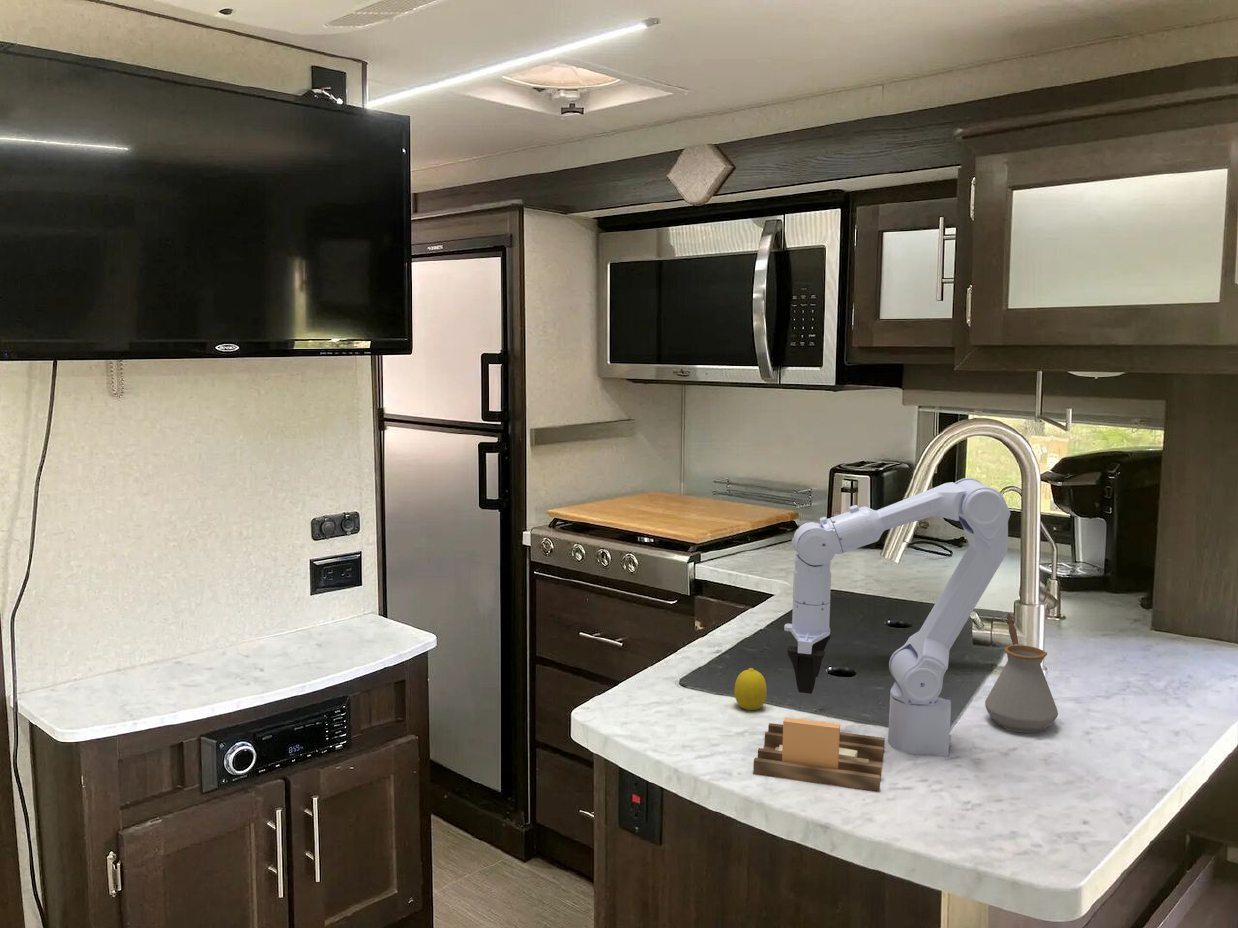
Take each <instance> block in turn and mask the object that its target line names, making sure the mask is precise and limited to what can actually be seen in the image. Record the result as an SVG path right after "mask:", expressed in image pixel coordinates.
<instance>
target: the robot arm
mask: <svg viewBox="0 0 1238 928" xmlns="http://www.w3.org/2000/svg"><path fill="white" fill-rule="evenodd" d="M848 509H849V511H845V512H843V513H841V514H838V515H834V516H832V517H830V518H827V517H826V516H822V517H820V518H819V522H820V523H818V522H814V521H813V522H811V521H809V522H806V523H803V524H802V525H800V526H798V529H796V530H795V531H794V535H793V537H792V539H791V544H792V547H793V549H794V551H795V552H796V554H795V559H794V570H793V588H792V589H793V590H792V614H791V615H792V616H791V617H792V620H791V623H785V624H784V628H783V629H784V631H785V632H790V633H791V635H792V636H793V637H794V639H795V640H796V641H797V646H796V645H795V646H794V645H788V647H787V650H786V651H787V656H788V658H789V660H790V661H791V665H792V667H793V671H794V677H795V681H796V687H797V692H798V693H802V694H810V695H812V694H813V691H814V688H815V685H816V680H817V678H818V676H819V673H820V671H821V666H822V660H823V659H824V656H825V655H826V651H825V649H826V646H827V645H828V643H829V641H830V640H831V637H832V631H831V628H830V614H831V586H832V584H831V583H832V582H831V581H832V573H831V561H832V560H833V558H834V557H835V556H836V554H837V555H841V554H845V553H847V552H849V551H853V550H855V549H856V550H857V549H859V548H861V547H862V548H863V547H865V546H867V545H871V544H873V543H876V542H879V540H880V538H881V536H882V534H883V533H884V532H885V531H886V530H887V531H888V530H891V529H894V528H898V527H900V526H904V525H908V524H911V523H914V522H917V521H921V520H924V519H928V518H932V517H940V518H944V519H947V520H952V521H955V522H960V524H961V525H962V528H963V531H964V534H965V536H966V539H967V542H968V547H967V549H966V550H965V552H964V554H963V556H962V558H960V560H959V562H958V564H957V566H956V567H955V569H954V570H953V573H952V574H951V576H950V578H949V579H948V581H947V583H946V584H945V586H944V588H943V589H942V592H941V593H940V595H939V597H938V598H937V600H936V601H935V603H934V605H933V607H932V609H931V611H930V612H929V613H928V616H927V617H926V619H925V620H924V622H923V624H922V625H921V628H919V630H918V631H917V632H915V633H914V634H913V633H912V634H911V636H909V637H908V639H907V641H906V642H905V643H904V644H903V645H902V646H901V647H899V648H898V649H896V650H895V651H894V652H893V653H892V654H891V656H890V659H889V662H888V668H889V672H890V674H891V676H892V677H893V679H895V680H894V682H893V685H892V686H891V689H890V694H889V695H890V696H889V712H888V713H889V715H888V717H889V718H888V732H887V733H888V734H887V736H888V737H887V742H888V743H887V744H888V745H889V746H890V747H891V748H893V750H896V751H898V752H899V751H900V752H901V753H906V754H912V755H929V756H930V755H931V756H938V757H946V758H947V757H948V758H949V751H950V748H951V747H952V735H951V734H950V732H951V718H952V716H951V713H952V711H951V710H952V701H951V700H950V699H946V698H942V697H939V696H940V694H941V693H942V690H943V685H944V684H943V683H944V681H943V680H944V676H945V674H946V671H947V670H948V669H949V661H950V659H949V657H950V649H952V647H953V645H954V643H955V642H956V640H957V638H958V636H959V635H960V633H961V632H962V630H963V628H964V626H965V625H966V623H967V622H968V620H969V618H970V616H971V615H972V613H973V611H974V610H975V608H976V606H977V605H978V603H979V601H980V599H981V598H982V596H983V595H984V592H985V591H986V590H987V587H989V584H990V582H991V581H992V579H993V578H994V575H995V574H996V572H997V570H998V569H999V568H1000V566H1001V564H1002V563H1003V561H1004V559H1005V557H1006V556H1007V554H1008V550H1009V520H1010V516H1011V511H1010V508H1009V506H1008V504H1007V502H1006V501H1005V498H1004V496H1003V494H1002V493H1001V492H1000V491H998V490H997V489H995V488H993V487H990V486H987V485H986V484H984V483H983V482H981V481H980V480H978V479H975V478H972V477H963V478H961V479H959V480H957V481H955V482H953V481H952V482H950V481H949V482H945V483H943V484H940V485H938V486H935V487H933V488H930V489H928V490H925V491H923V492H920V493H917V494H915V495H913V496H909V497H908V498H904V499H902V500H900V501H897V502H895V503H892V504H889V505H887V506H885V507H881V508H880V509H877V510H875V509H872V508H871V507H868V506H861V507H859V506H858V505H857V504H855V505H851V506H849V507H848Z"/></svg>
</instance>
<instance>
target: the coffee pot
mask: <svg viewBox="0 0 1238 928" xmlns="http://www.w3.org/2000/svg"><path fill="white" fill-rule="evenodd" d="M1004 617H1006V620H1007V621H1006V620H1004ZM1013 618H1014V619H1013ZM1001 620H1002V621H1003V622H1004V623H1006V624H1007V625H1008V633H1009V636H1010V639H1011V643H1012V644H1011V645H1007V646H1005V647H1004V649H1003V650H1004V653H1005V654H1007V655H1006V656H1007V662H1006V664H1005V665H1004V667H1003V669H1002V671H1001V672H1000V674H999V676H998V678H997V679H996V681H995V683H994V685H993V686H992V688H991V690H990V691H989V692H988V693H989V694H988V695H987V697H986V699H985V701H984V706H985V709H986V712H987V713H988V715H989V716H990V717H991V718H992V719H993V720H994V721H995V722H996V724H997V725H999V726H1000V727H1001V728H1004V729H1006V730H1008V731H1013V732H1018V733H1023V734H1025V733H1027V734H1033V733H1039V732H1042V731H1044V730H1045V729H1047V728H1048V727H1051V725H1053V724H1054V722H1055V721H1056V719H1057V718H1058V716H1059V711H1058V707H1057V705H1056V703H1055V701H1054V700H1055V699H1054V697H1053V695H1052V692H1051V689H1050V687H1049V684H1048V681H1047V679H1046V678H1047V677H1046V675H1045V673H1044V671H1043V668H1042V665H1041V664H1042V662H1043V660H1044V659H1045V658H1046V657H1047V655H1048V652H1047V651H1045V650H1043V649H1041V648H1038V647H1034V646H1031V645H1030V646H1029V645H1023V644H1019V640H1018V635H1017V633H1018V632H1017V629H1016V626H1015V621H1016V617H1015V616H1014V615H1012V614H1011V613H1007V614H1005V615H1003V616H1002V617H1001Z"/></svg>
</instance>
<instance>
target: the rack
mask: <svg viewBox="0 0 1238 928" xmlns="http://www.w3.org/2000/svg"><path fill="white" fill-rule="evenodd" d="M885 738H886V737H881V736H873V735H867V734H859V733H858V734H857V733H850V732H842V731H840V737H839V747H840V748H845V749H851V750H857V757H856V758H863V759H869V763H866V762H858V761H851V760H844V759H839V761H838V769H832V768H825V767H818V766H811V765H804V764H797V763H789V762H782V751H778V750H775V748H776V747H779V745H783V724H779V723H772V722H769V723H768V731H765V732H764V745H763V747H758V750H757V757H754V758H753V768H752V769H753V773H752V774H753V775H755V776H763V777H769V778H770V777H771V778H777V779H783V780H784V779H785V780H790V781H796V782H797V781H798V782H802V783H803V782H805V783H810V784H819V785H825V786H831V787H839V788H846V789H852V790H861V791H865V792H873V793H880V790H881V789H880V788H881V780H882V772H883V763H884V756H885V741H886V739H885Z"/></svg>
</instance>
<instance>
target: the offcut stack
mask: <svg viewBox="0 0 1238 928" xmlns="http://www.w3.org/2000/svg"><path fill="white" fill-rule="evenodd" d="M782 747H783V745H779V747H776V748H775V750H778V751H782ZM856 757H857V750H851V749H845V748H840V747H839V759H844V760H851V761H858V762H866V763H869V759H863V758H856Z"/></svg>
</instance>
